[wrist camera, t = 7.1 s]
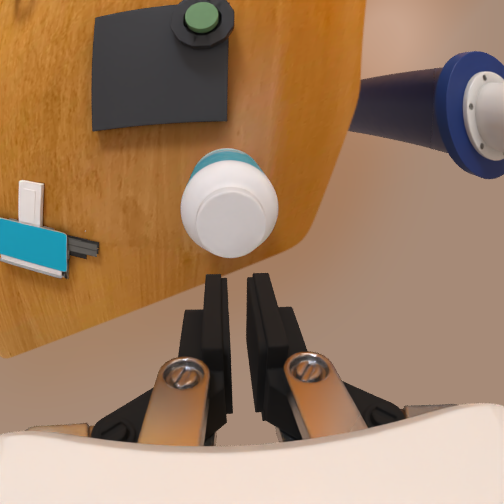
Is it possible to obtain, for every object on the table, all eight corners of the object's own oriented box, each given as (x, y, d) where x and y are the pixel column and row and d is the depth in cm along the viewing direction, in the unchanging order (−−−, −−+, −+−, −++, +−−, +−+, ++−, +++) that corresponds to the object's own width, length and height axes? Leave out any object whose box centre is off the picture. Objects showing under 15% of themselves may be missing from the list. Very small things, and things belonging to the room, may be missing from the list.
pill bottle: (177, 181, 32) (149, 224, 20) (228, 132, 30) (232, 143, 18) (225, 228, 35) (229, 295, 22) (276, 184, 33) (309, 227, 21)
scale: (233, 3, 24) (234, -7, 21) (231, 121, 30) (232, 121, 27) (100, 17, 23) (90, 10, 20) (97, 130, 28) (86, 132, 26)
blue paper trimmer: (103, 194, 31) (98, 198, 30) (97, 285, 36) (93, 292, 34) (-20, 172, 28) (-27, 175, 26) (-16, 253, 32) (-22, 258, 31)
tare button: (218, 6, 22) (218, 1, 21) (218, 32, 23) (217, 28, 22) (187, 7, 22) (185, 2, 21) (186, 34, 23) (184, 30, 22)
